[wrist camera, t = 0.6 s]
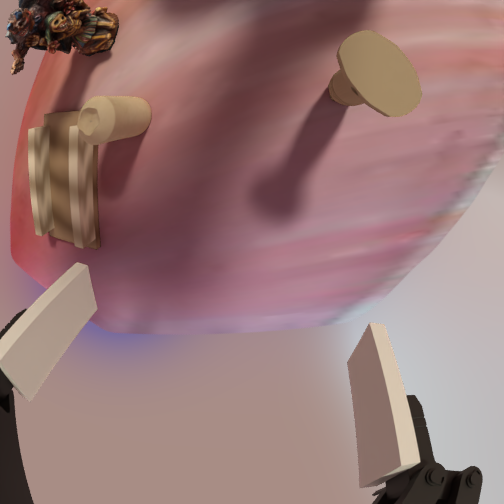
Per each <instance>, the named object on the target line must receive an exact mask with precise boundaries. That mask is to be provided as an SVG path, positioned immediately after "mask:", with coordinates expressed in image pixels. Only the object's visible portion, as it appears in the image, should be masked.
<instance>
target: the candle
mask: <svg viewBox="0 0 504 504" xmlns="http://www.w3.org/2000/svg"><path fill="white" fill-rule="evenodd" d="M150 121H151V108H150V106H149V104H148V103H147V102H146V101H145V100H144V99H142V98H139V97H128V96H95V97H93V98H91V99H89V100H88V101H87V102H86V103H85V104H84V105H83V107H82V109H81V111H80V114H79V117H78V122H77V127H78V129H79V133H80V135H81V137H82V138H83V140H84V141H85V142H86V143H88V144H91V145H99V144H103V143H107V142H111V141H116V140H120V139H125V138H129V137H134V136H137V135H139V134H141V133H143V132H144V131H145V130H146V129H147V127H148V126H149V124H150Z"/></svg>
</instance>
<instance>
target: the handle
mask: <svg viewBox="0 0 504 504" xmlns="http://www.w3.org/2000/svg"><path fill="white" fill-rule="evenodd" d="M337 59H338V63H339V66H340V69H341V70H339V71H338V72H337V73H335V74H334V75H333V77H332V78H331V80H330V83H329V85H328V88H329V93H330V98H331V99H332V100H333V101H336V102H338V103H340V104H342V105H347V106H355V105H360V104H363V103H365V104H366V105H368V106H369V107H371V108H372V109H374V110H376V111H377V112H379V113H381V114H382V115H384V116H387V117H400V116H403V115H406V114H408V113H410V112H411V111H412V110H414V109H415V108H416V107H417V105H418V104H419V102H420V100H421V97H422V91H421V87H420V83H419V79H418V76H417V73H416V71H415V69H414V67H413V65H412V64H411V62H410V61H409V60H408V58H407V57H406V56H405V54H404V53H403V52H402V51H401V50H400V49H399V47H398V46H397V45H395V44H394V43H393V42H391V41H390V40H388V39H387V38H385V37H383V36H382V35H380V34H378V33H376V32H374V31H369V30H367V31H359V32H356V33H354V34H352V35H350V36H349V37H348V38H346V39H345V41H344V42H343V43H342V44H341V46H340V47H339V49H338V52H337Z"/></svg>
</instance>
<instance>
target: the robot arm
mask: <svg viewBox="0 0 504 504" xmlns="http://www.w3.org/2000/svg"><path fill="white" fill-rule="evenodd" d="M97 309H98V308H97V304H96V300H95V296H94V292H93V288H92V283H91V278H90V273H89V268H88V265H85V264H81V263H78V262H76V263H75V264H74V265H73V266H72V267H71V268H70V269H69V270H68V271H66V272H65V273H64V274H63V275H62V276H61V277H60V278H59V279H58V280H57V281H56V282H55V283H54V284H52V285H51V286H50V287H49V288H48V289H47V290H46V291H45V292H44V293H43V294H42V295H41V296H40V297H39V298H38V299H37V300H36V301H35V302H34V303H33V304H32V305H31V306H30V308H28V309H25V310H23V311H21V312H19V313H18V314H16V316H15V317H14V318H13V319H12V320H11V321H10V323H8V324H7V325H6V326H5V329H3V330H2V331H1V332H0V504H34V503H33V500H32V497H31V494H30V490H29V487H28V483H27V480H26V476H25V471H24V467H23V463H22V458H21V453H20V447H19V441H18V434H17V428H16V427H17V426H16V418H15V406H14V394H13V391H12V388H13V387H15V388H16V390H17V391H18V392H19V394H20V395H22V396H23V397H24V398H26V399H27V400H29V401H30V402H31V401H32V399H33V398H34V396H35V395H36V393H37V391H38V390H39V388H40V387H41V385H42V384H43V382H44V381H45V379H46V378H47V376H48V375H49V373H50V372H51V371H52V369H53V368H54V366H55V365H56V363H57V362H58V361H59V359H60V358H61V356H62V355H63V354H64V352H65V351H66V349H67V348H68V347H69V345H70V344H71V342H72V341H73V340H74V339H75V337H76V336H77V335H78V333H79V332H80V331H81V329H82V328H83V327H84V325H85V324H86V323H87V321H88V320H89V319H90V318H91V317H92V315H93V314H94V313H95V312H96V310H97ZM347 365H348V370H349V378H350V385H351V393H352V400H353V408H354V418H355V427H356V438H357V449H358V463H359V485H360V488H363V487H372V486H378V485H379V484H382V483H384V482H386V487H384V488H382V489H380V490H378V491H376V492H375V493H374V494H372V495H373V496H375V495H378V494H379V495H378V497H377V498H376V499H375V501H374V502H373V503H372V504H478V502H479V497H480V492H481V486H482V473H481V471H480V469H479V468H477V467H475V466H470V467H468V468H467V469H465V470H463V471H450V470H445V468H444V467H443V466H442V465H441V464H439V463H436V462H435V460H434V456H433V452H432V447H431V442H430V437H429V433H428V429H427V427H426V421H425V418H424V413H423V409H422V406H421V404H420V402H419V401H418V399H417V398H416V396H415V395H406V393H405V389H404V386H403V382H402V379H401V375H400V372H399V368H398V365H397V362H396V358H395V355H394V352H393V349H392V346H391V343H390V340H389V337H388V334H387V331H386V328H385V325H384V324H377V323H369V325H368V326H367V328H366V330H365V332H364V334H363V336H362V338H361V339H360V341H359V343H358V345H357V347H356V348H355V350H354V352H353V353H352V355H351V357H350V358H349V360H348V362H347Z"/></svg>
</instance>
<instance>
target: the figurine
mask: <svg viewBox="0 0 504 504" xmlns="http://www.w3.org/2000/svg"><path fill="white" fill-rule="evenodd" d="M89 9H90V7H89V6H88V5H87V4H85V3H84V1H83V0H19V9H17V10H15V11H14V12H12V14H10V17H9V21H8V26H7V30H8V31H7V34H6V36H5V37H8V38H9V39H10V40H11V44H15V43H17V44H16V49H15V50H13V51H12V56H13V57H14V59H15V61H14V63H13V65H12V69H11V73H12V75H13V74H17V72H20V70H23V68H24V63H25V62H24V57H25V55H26V54H27V51H28V50H29V48H30V47H32V48H34V49H39V50H49V53H52V54H54V53H55V52H56V50H57V51H58V50H59V51H62V52H64V53H67V54H69V53H70V52H71V48H72V47H71V46H73V47H74V48H75V47H77V48H76V50H79V51H78V52H79V53H82V54H83V55H84V54H85V55H86V56H91V55H93V54H95V53H99V52H104V51H106V50H107V51H108V50H110V49H111V48H112V45H113V44H114V42H115V38H116V35H117V32H118V28H119V25H118V24H119V23H118V21H119V20H118V17H117V15H115V14H114V13H106V12H107V9H108V8H107V7H104V8H101V7H98V8H96V10H95V11H92V12H91V10H89ZM88 13H89V14H88Z"/></svg>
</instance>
